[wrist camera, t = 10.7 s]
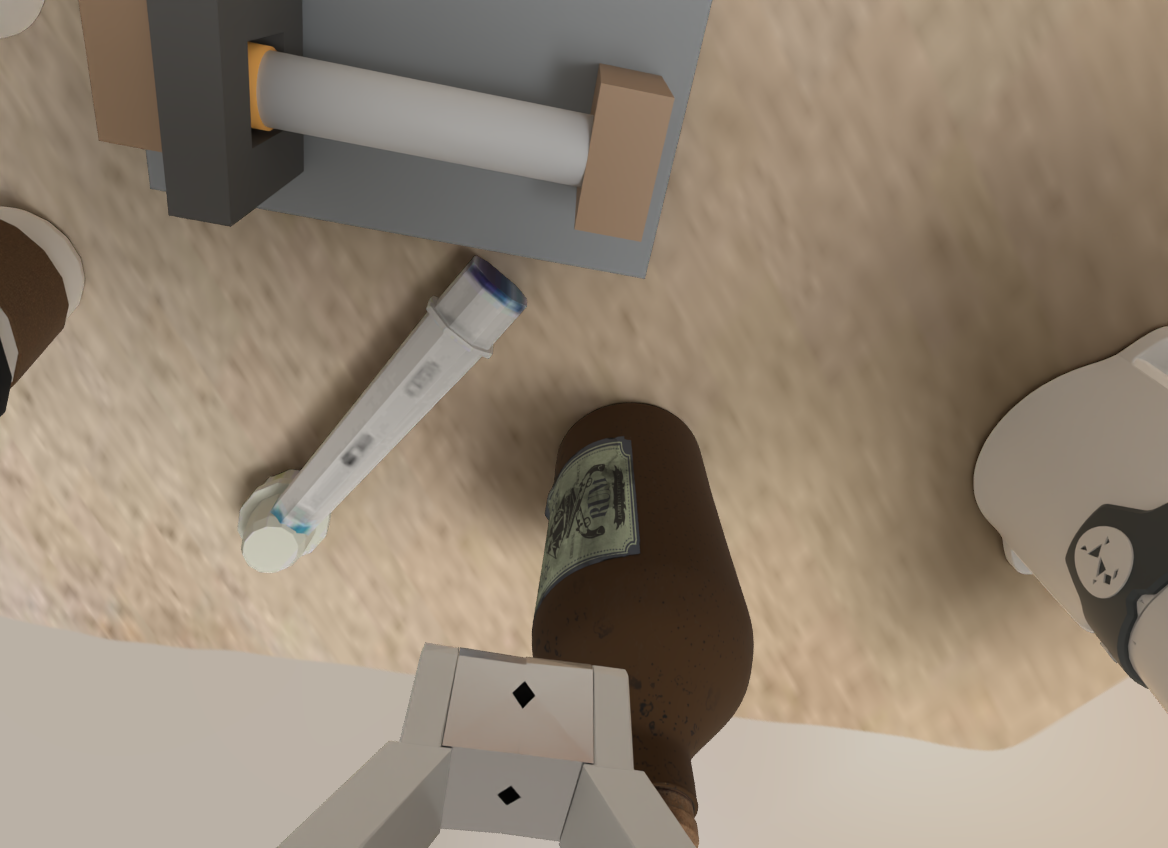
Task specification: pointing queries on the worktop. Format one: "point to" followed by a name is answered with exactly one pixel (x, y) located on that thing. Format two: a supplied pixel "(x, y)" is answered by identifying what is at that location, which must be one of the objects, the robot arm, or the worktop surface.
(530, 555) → the worktop surface
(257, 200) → the collar
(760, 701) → the worktop surface
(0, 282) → the coffee cup
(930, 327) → the worktop surface
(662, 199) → the pipe stand
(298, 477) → the electric toothbrush
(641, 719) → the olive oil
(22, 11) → the cylindrical container
